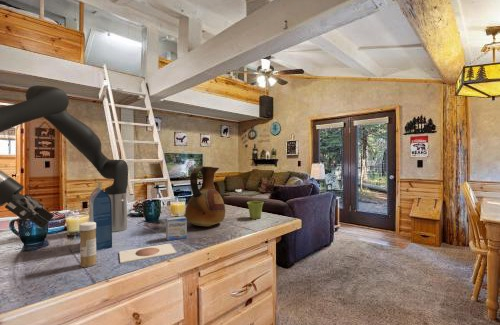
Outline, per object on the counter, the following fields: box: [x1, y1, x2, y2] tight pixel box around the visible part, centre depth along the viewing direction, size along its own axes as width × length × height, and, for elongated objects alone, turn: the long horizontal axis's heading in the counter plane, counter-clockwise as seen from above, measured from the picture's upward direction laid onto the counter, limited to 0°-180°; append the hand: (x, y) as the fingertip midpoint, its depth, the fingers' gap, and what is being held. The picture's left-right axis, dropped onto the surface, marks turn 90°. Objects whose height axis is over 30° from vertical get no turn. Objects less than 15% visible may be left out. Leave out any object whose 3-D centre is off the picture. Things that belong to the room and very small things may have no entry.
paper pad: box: [118, 243, 178, 264], centre depth 94 cm, size 11×18×1 cm, turn 118°
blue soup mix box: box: [88, 180, 113, 251], centre depth 103 cm, size 6×12×25 cm, turn 37°
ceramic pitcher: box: [184, 165, 226, 227], centre depth 133 cm, size 20×20×30 cm
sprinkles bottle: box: [78, 221, 97, 268], centre depth 84 cm, size 5×5×14 cm
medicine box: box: [165, 216, 188, 242], centre depth 111 cm, size 8×4×9 cm, turn 118°
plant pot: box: [246, 200, 265, 220], centre depth 147 cm, size 9×9×9 cm
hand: (48, 221), depth 79 cm, fingers open, 8 cm apart
